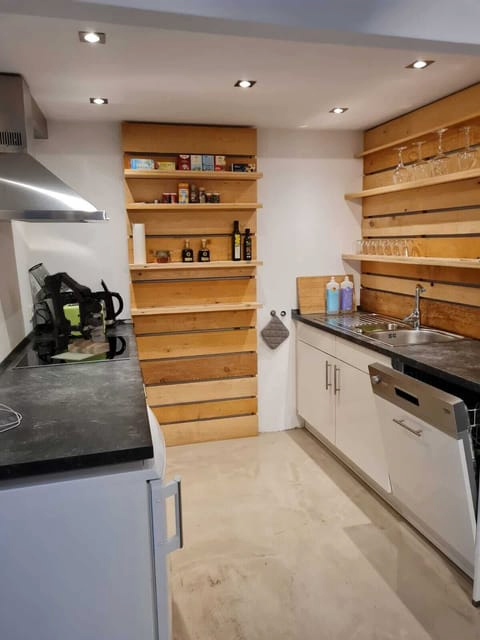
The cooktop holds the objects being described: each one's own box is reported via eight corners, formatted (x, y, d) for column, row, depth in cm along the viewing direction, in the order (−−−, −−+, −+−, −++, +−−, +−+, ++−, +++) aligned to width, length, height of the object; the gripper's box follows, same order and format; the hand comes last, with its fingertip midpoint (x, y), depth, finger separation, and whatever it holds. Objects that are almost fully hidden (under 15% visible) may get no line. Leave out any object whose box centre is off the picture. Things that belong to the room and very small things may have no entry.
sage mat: (51, 357, 238) (51, 357, 238) (67, 353, 248) (67, 352, 248) (79, 360, 231) (79, 359, 231) (95, 355, 241) (94, 354, 241)
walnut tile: (74, 346, 245) (73, 341, 244) (81, 344, 249) (80, 339, 249) (84, 347, 242) (84, 342, 241) (91, 345, 246) (91, 340, 246)
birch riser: (68, 352, 249) (68, 345, 248) (82, 348, 258) (81, 341, 257) (96, 354, 242) (95, 347, 241) (109, 350, 251) (108, 343, 250)
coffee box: (105, 341, 275) (103, 313, 273) (94, 342, 273) (91, 314, 270) (102, 338, 284) (100, 311, 281) (91, 340, 281) (89, 312, 279)
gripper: (85, 315, 234) (87, 346, 237) (109, 310, 251) (111, 339, 254) (67, 314, 239) (70, 345, 241) (92, 309, 256) (94, 338, 258)
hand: (87, 342), depth 248 cm, fingers closed
